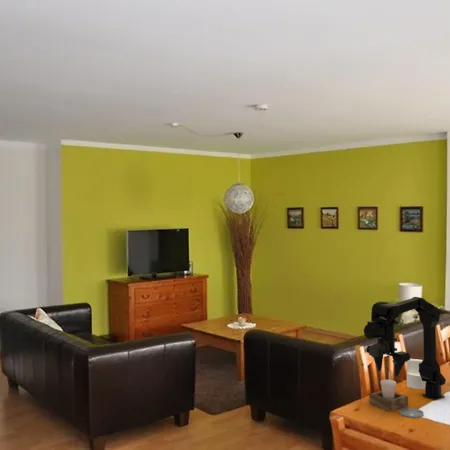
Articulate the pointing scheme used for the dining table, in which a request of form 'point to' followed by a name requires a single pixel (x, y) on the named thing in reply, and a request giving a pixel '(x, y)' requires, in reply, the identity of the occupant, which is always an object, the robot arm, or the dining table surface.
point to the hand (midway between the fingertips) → (388, 373)
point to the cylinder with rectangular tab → (414, 375)
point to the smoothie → (388, 388)
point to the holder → (388, 401)
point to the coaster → (411, 412)
